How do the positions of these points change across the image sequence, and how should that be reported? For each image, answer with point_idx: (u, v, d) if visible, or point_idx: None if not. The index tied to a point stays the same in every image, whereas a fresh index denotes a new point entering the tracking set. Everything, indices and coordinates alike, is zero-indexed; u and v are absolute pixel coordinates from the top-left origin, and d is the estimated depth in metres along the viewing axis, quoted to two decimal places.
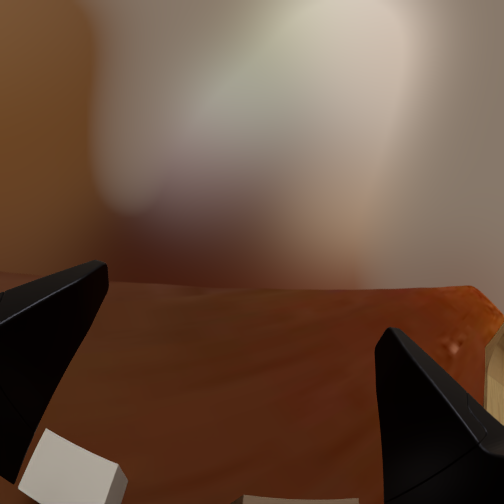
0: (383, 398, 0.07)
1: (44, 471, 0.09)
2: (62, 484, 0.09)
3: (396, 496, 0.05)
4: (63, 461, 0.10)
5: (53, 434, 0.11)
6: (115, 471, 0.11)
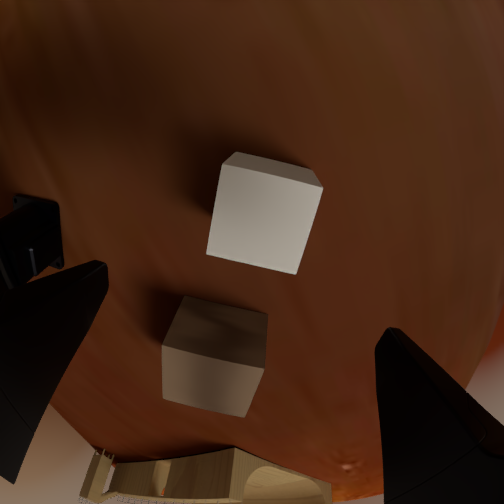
0: (383, 398, 0.07)
1: (261, 194, 0.14)
2: (253, 219, 0.15)
3: (396, 496, 0.05)
4: (284, 216, 0.14)
5: (317, 199, 0.14)
6: (286, 271, 0.16)
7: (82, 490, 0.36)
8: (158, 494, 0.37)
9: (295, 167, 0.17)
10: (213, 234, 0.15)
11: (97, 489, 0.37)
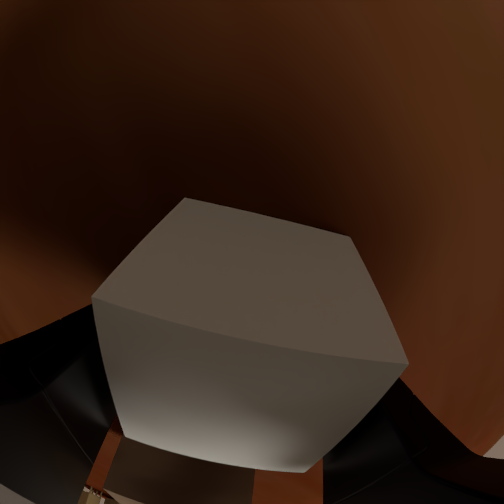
0: None
1: (221, 383, 0.04)
2: (208, 418, 0.05)
3: None
4: (288, 420, 0.05)
5: (384, 387, 0.04)
6: None
7: None
8: None
9: (318, 241, 0.07)
10: (126, 420, 0.05)
11: None
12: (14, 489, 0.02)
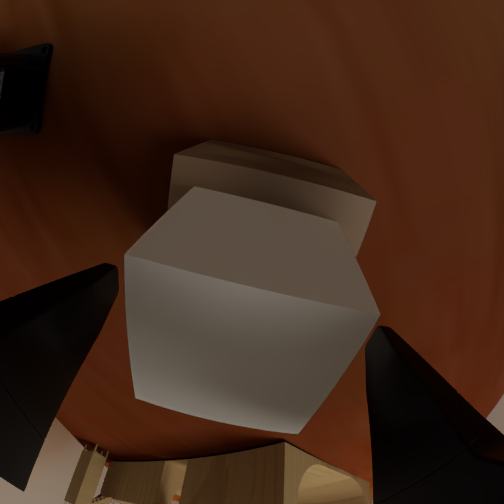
0: (373, 398, 0.07)
1: (225, 328, 0.06)
2: (212, 367, 0.06)
3: (385, 498, 0.05)
4: (281, 367, 0.06)
5: (361, 336, 0.05)
6: (281, 430, 0.07)
7: (68, 494, 0.27)
8: (167, 503, 0.28)
9: (308, 223, 0.09)
10: (139, 377, 0.07)
11: (87, 494, 0.28)
12: None
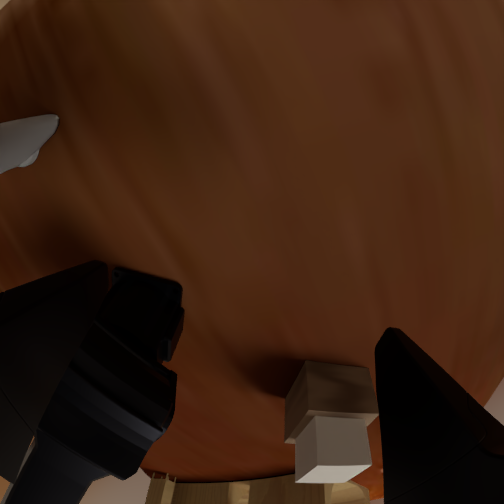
0: (383, 398, 0.07)
1: (336, 470, 0.18)
2: (328, 475, 0.18)
3: (396, 496, 0.05)
4: (346, 473, 0.18)
5: (367, 467, 0.17)
6: (339, 482, 0.19)
7: None
8: None
9: (355, 427, 0.21)
10: (302, 479, 0.19)
11: None
12: None
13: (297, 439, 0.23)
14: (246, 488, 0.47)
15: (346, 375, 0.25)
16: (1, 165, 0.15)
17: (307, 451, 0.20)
